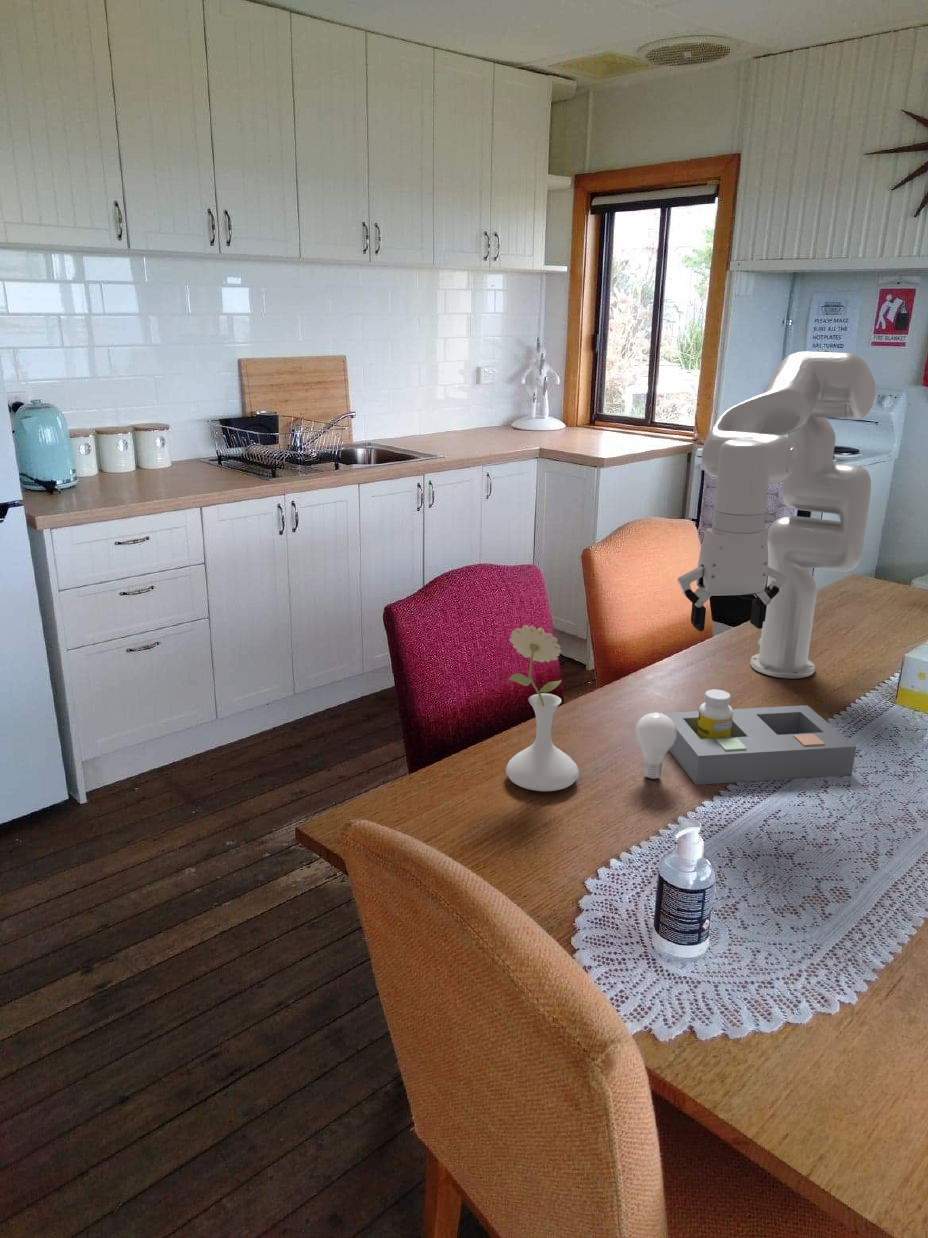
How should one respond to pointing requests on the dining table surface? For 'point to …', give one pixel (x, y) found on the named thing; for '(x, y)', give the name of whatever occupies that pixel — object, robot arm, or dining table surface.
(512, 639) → the flower in vase
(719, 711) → the supplement bottle
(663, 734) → the lightbulb
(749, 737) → the socket board
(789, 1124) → the dining table surface
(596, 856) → the dining table surface
